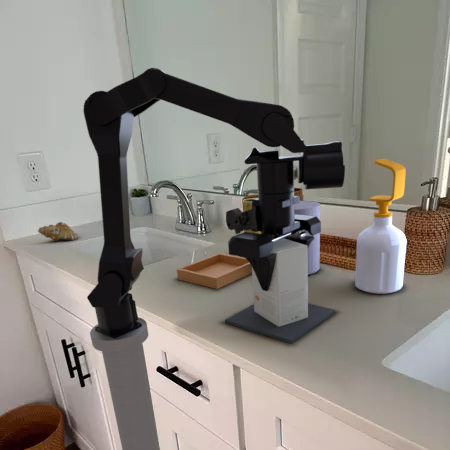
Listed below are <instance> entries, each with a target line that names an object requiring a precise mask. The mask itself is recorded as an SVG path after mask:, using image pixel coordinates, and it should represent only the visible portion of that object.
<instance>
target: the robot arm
mask: <svg viewBox="0 0 450 450" xmlns="http://www.w3.org/2000/svg"><path fill="white" fill-rule="evenodd" d="M160 101H164V102H167V103H169V104H172V105H174V106H178V107H180V108H184V109H187V110H189V111H192V112H195V113H197V114H200V115H203V116H206V117H209V118H212V119H213V120H217V121H220V122H223V123H226V124H228V125H230V126H232V127H234V128H235V129H237V130H238V131H240V132H242V133H243V134H245V135H247V136H249V138H252V139H254V140H256V141H257V142H259V143H260V144H263V145H264V146H266V147H269V148H279V147H282V148H284V149H285V150H287V151H288V152H290V153H292V154H300V155H285V156H283V155H282V156H280V153H279V149H278V150H277V149H276V150H263V151H260V149H258V148H257V146H253V147H252V150H251V151H250V153H249V155H247V156H246V157H245V159H244V164H245V165H255V164H256V177H257V179H256V180H257V197H256V198H257V199H253V201H252V209H250V210H247V211H244V212H243V210H241V209H240V208H239V207H236V208H233V209H229V210H227V211H225V223H226V228H227V229H228V230H230V231H233V230H234V232H235V235H233V236H231V237H230V239H229V240H228V241H227V248H228V255H232V256H238V257H243V258H246V259H247V260H248V261H249V262H250V264H251V266H252V268H253V270H254V272H255V274H256V277H257V279H258V281H259V284H260V286H261V288H262V290H264V291H268V290H269V287H270V283H271V279H272V274H273V269H274V265H275V260H276V256H277V253H271V251H272V249H273V242H275V241H278V240H280V239H283V238H284V239H288V240H291V241H294V242H297V243H300V244H304V245H307V246H308V247H309V245H310V244H311V242H312V240H314V236H308V233H309V234H310V235H316V234H318V233H320V234H321V232H322V221H321V219H320V220H319V219H318V218H317V216H307V215H296V214H295V215H294V204H297V203H300V201H301V200H300V198H301V197H300V195H295V163H294V162H297V165H296V166H297V167H296V169H297V171H296V172H297V183H298V184H302V185H303V186H304V189H305V190H320V189H336V188H338V189H339V188H343V186H344V183H345V175H346V164H344V153H343V143H342V141H330V142H327V143H318V144H317V143H316V144H305V140H304V139H302V138H300V136H299V135H298V133H297V132H296V131H295V129H294V128H295V119H294V118H293V114H292V113H291V111H290V110H289V109H288V108H286V107H285V106H283V105H280V104H275V103H268V102H263V101H255V100H247V99H240V98H235V97H232V96H229V95H228V94H224V93H222V92H220V91H219V92H218V91H216V90H213V89H210V88H207V87H205V86H202V85H199V84H196V83H194V82H191V81H188V80H185V79H182V78H179V77H178V76H174V75H172V74H168V73H167V72H165V71H163V70H162V69H160V68H156V67H150V68H147V69H145V70H144V71H143V72H142V73H141V74H139V75H136V76H135V77H133V78H131V79H129V80H127V81H124V82H123V83H120V84H118V85H116V86H114V87H113V88H111V89H109V90H96V91H94V92H93V93H91V94H90V95H89V96H88V97H87V98H86V99H85V100H84V103H83V110H82V112H83V116H84V121H85V124H86V129H87V133H88V137H89V139H90V141H91V143H92V145H93V148H94V150H95V152H96V155H97V165H98V177H99V179H98V180H99V191H100V203H101V205H100V206H101V218H102V219H101V220H102V229H103V230H102V231H103V245H102V246H103V247H102V250H101V254H100V258H99V261H98V269H97V284H96V285H95V287H93V289H92V290H91V291H90V293H89V294H88V295H87V296H86V298H87V300H88V302H89V304H90V305H91V307H92V308H94V311H95V315H96V321H97V324H98V325H99V326H97V327H95V331H97V332H100V333H102V334H104V335H106V336H108V337H111V338H113V339H114V338H118V337H120V336H122V335H124V334H126V333H128V332H130V331H133V330H135V329H137V328H139V327H141V326H142V323H140V322H137V320H138V317H139V316H138V311H137V305H136V300H134V298H133V294H132V293H130V291H132V289H133V286H134V284H135V283H136V282H137V281H138V279H139V277H140V275H141V273H142V272H143V270H144V269H145V267H144V265H143V261H142V258H143V248H140V247H139V248H135V246H134V243H133V241H132V238H131V218H130V200H129V179H128V160H127V156H128V151H129V147H130V143H131V139H132V136H133V128H134V119H135V117H137V116H139V115H141V114H142V113H145V112H146V111H147V110H148V109H150V108H151V107H153V106H154V105H155V104H157V103H158V102H160ZM250 229H251V231H253V232H258V231H260V232H261V234H258V233H250V232H244V230H246V231H247V230H250ZM306 231H308V232H306Z"/></svg>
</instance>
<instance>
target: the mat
mask: <svg viewBox="0 0 450 450" xmlns="http://www.w3.org/2000/svg"><path fill="white" fill-rule="evenodd" d="M335 312H336V310H335V309H332V308H329V307H325V306H321V305H317V304H312V303H308V317H307V318H305V319H302V320H299V321H296V322H293V323H290V324H286V325H283V326H280V327H278V326H277V325H275V324H273V323H272V322H270V321H269V320H267V319H265V318H264V317H262V316H261V315H259V314H257V313H256V312H254V303H253V304H252V305H250V306H248V307H246V308H244V309H242V310H240V311H238V312H236V313H235V314H233V315H231V316H230V317H228V318H226V319H224V324H228V325H231V326H235V327H237V328H240V329H244V330H246V331H250V332H253V333H256V334H259V335H263V336H265V337H269V338H272V339H275V340H278V341H281V342H285V343H287V344H293V343H294V342H296V341H297V340H298V339H300V338H302V337H303V336H304V335H305V334H307V333H308V332H310V331H312V330H313V329H314V328H316V327H317V326H318V325H320V324H321V323H322V322H324V321H325V320H327V319H328V318H330V317H332V315H334V314H335Z"/></svg>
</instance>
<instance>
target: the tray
mask: <svg viewBox="0 0 450 450" xmlns="http://www.w3.org/2000/svg"><path fill="white" fill-rule="evenodd" d="M251 274H252V266H251V264H250V262H249V261H248V260H247V259H246V258H244V257H240V256H235V255H229V254H226V253H221V252H218V253H216V254H213V255H210V256H208V257H205V258H202V259H200V260H197V261H194V262H192V263H188V264H186V265H184V266H181V267H178V268H176V276H177V280H179V281H182V282H183V281H184V282H187V283H191V284H195V285H200V286H203V287H207V288H210V289H216V290H218V289H220V288H222V287H225V286H227V285H229V284H231V283H233V282H235V281H238V280H240V279H242V278H245V277H247V276H248V275H251Z"/></svg>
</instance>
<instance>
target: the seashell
mask: <svg viewBox="0 0 450 450" xmlns="http://www.w3.org/2000/svg"><path fill="white" fill-rule="evenodd" d="M37 233H39V234H40V235H42V236H44V237H45V238H48V239H51V240H52V242H59V241H60V240H67V241H68V240H69V241H74V240H77V239H78V237H79V235H78V233H77V232H74V230H73V229H72V228H71V227H70V226H69V225H68V224H67V223H65V222H62V221H59V222H57V223H56V224H55V225H54V224H49V225H44V226H41V227H40V226H39V228H38V230H37Z"/></svg>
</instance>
